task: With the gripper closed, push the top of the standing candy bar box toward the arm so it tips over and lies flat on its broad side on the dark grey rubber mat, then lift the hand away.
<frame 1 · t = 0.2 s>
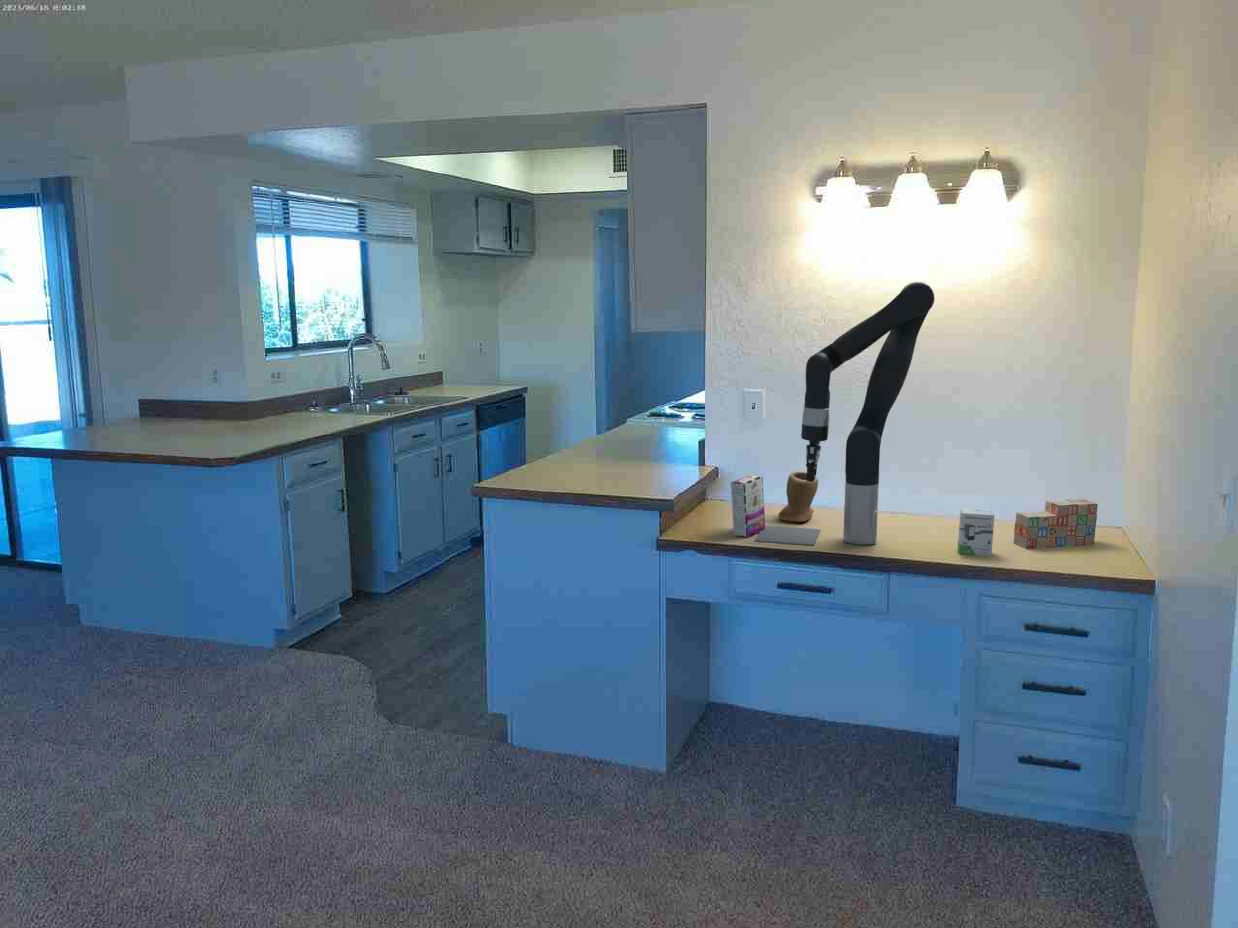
hand: (811, 478, 280), 18 cm above the table, tool pointing down, fingers open, 8 cm apart
stack of blocks: (1053, 545, 276), on the table
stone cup: (798, 519, 306), on the table
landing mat: (788, 535, 286), on the table
candy bar box: (749, 533, 289), on the table, touching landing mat
ink box: (974, 553, 267), on the table
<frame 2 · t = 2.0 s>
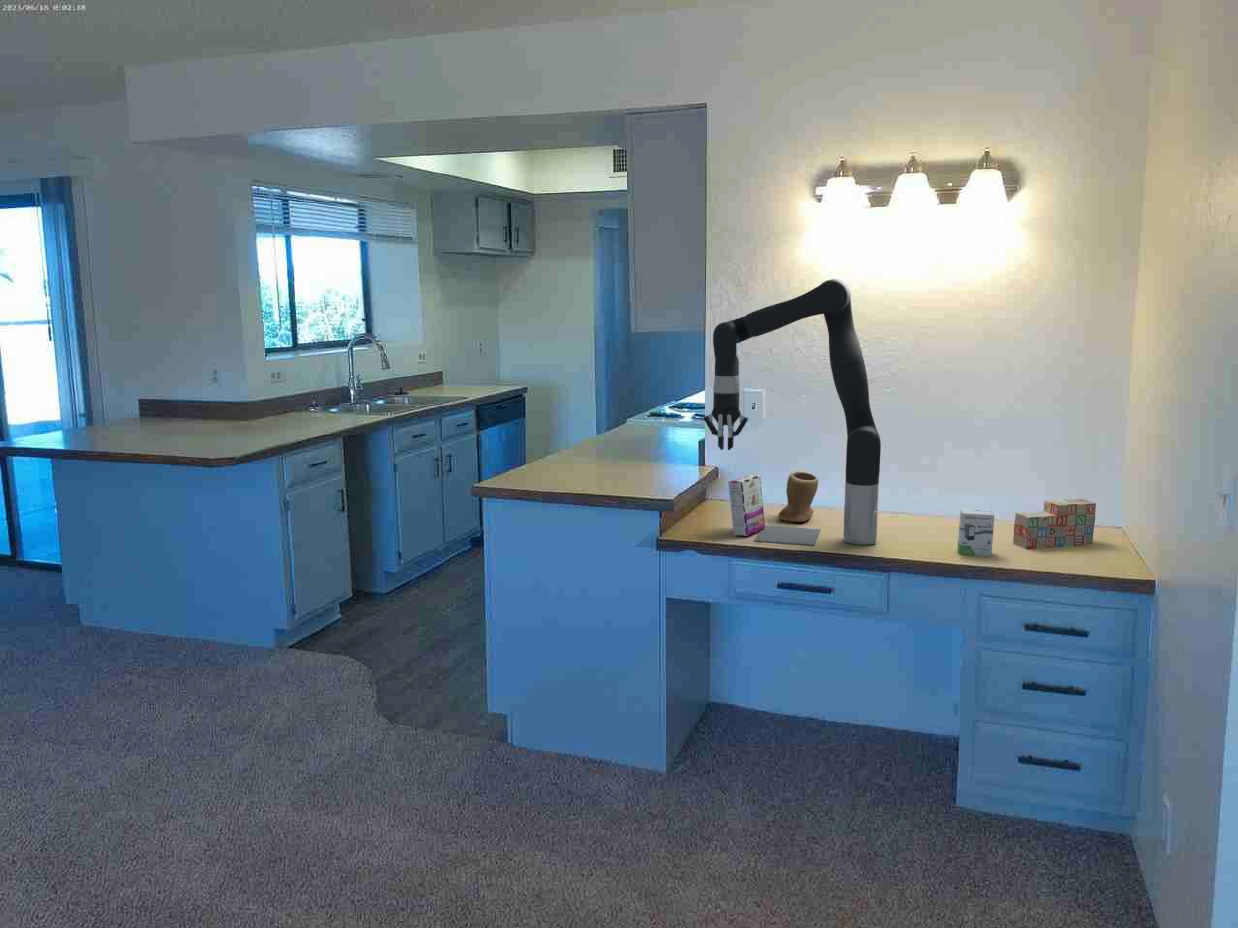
hand: (725, 449, 287), 25 cm above the table, tool pointing down, fingers closed
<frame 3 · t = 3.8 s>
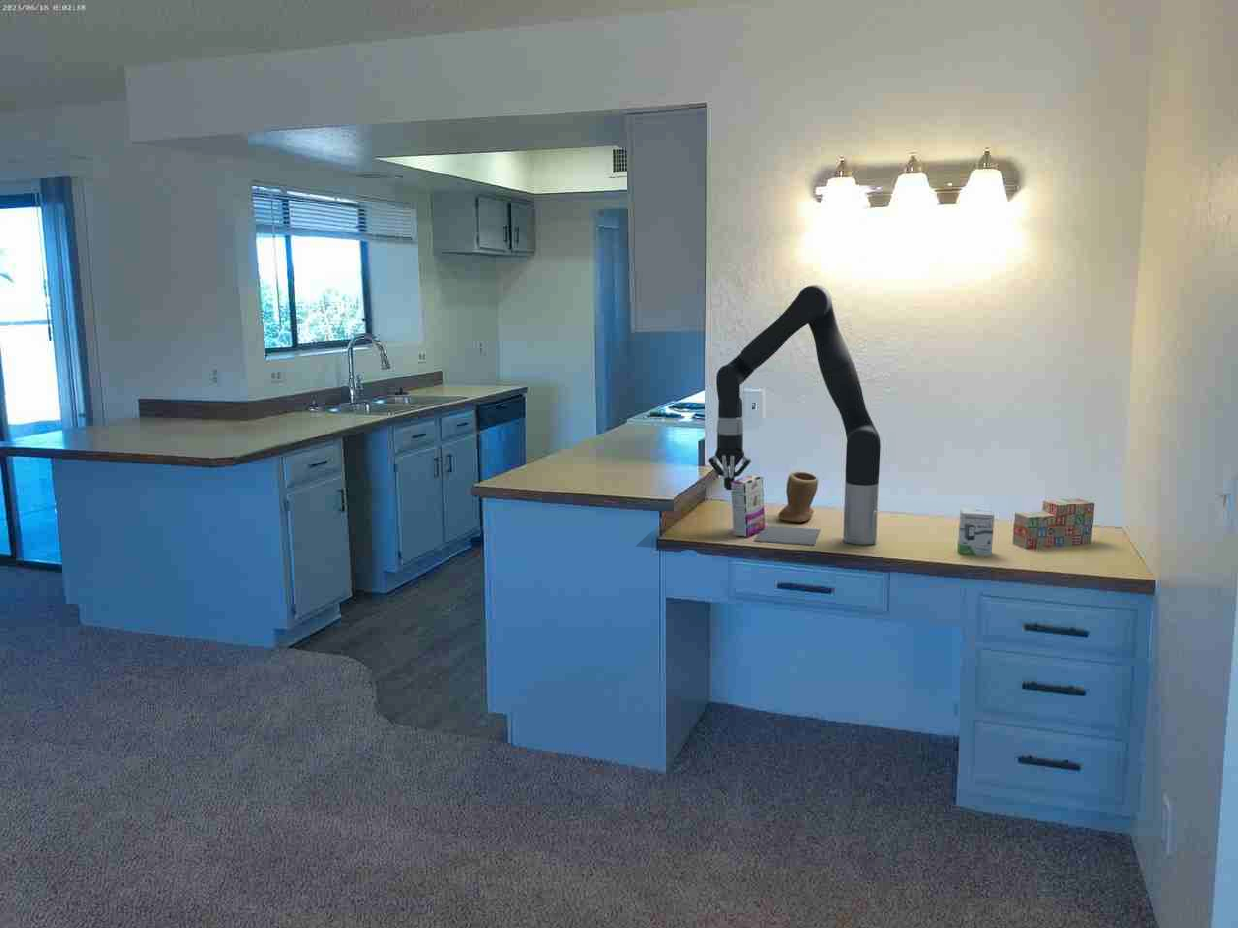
hand: (729, 489, 288), 13 cm above the table, tool pointing down, fingers closed
candy bar box: (749, 533, 289), on the table, touching gripper, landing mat
everything else where it was.
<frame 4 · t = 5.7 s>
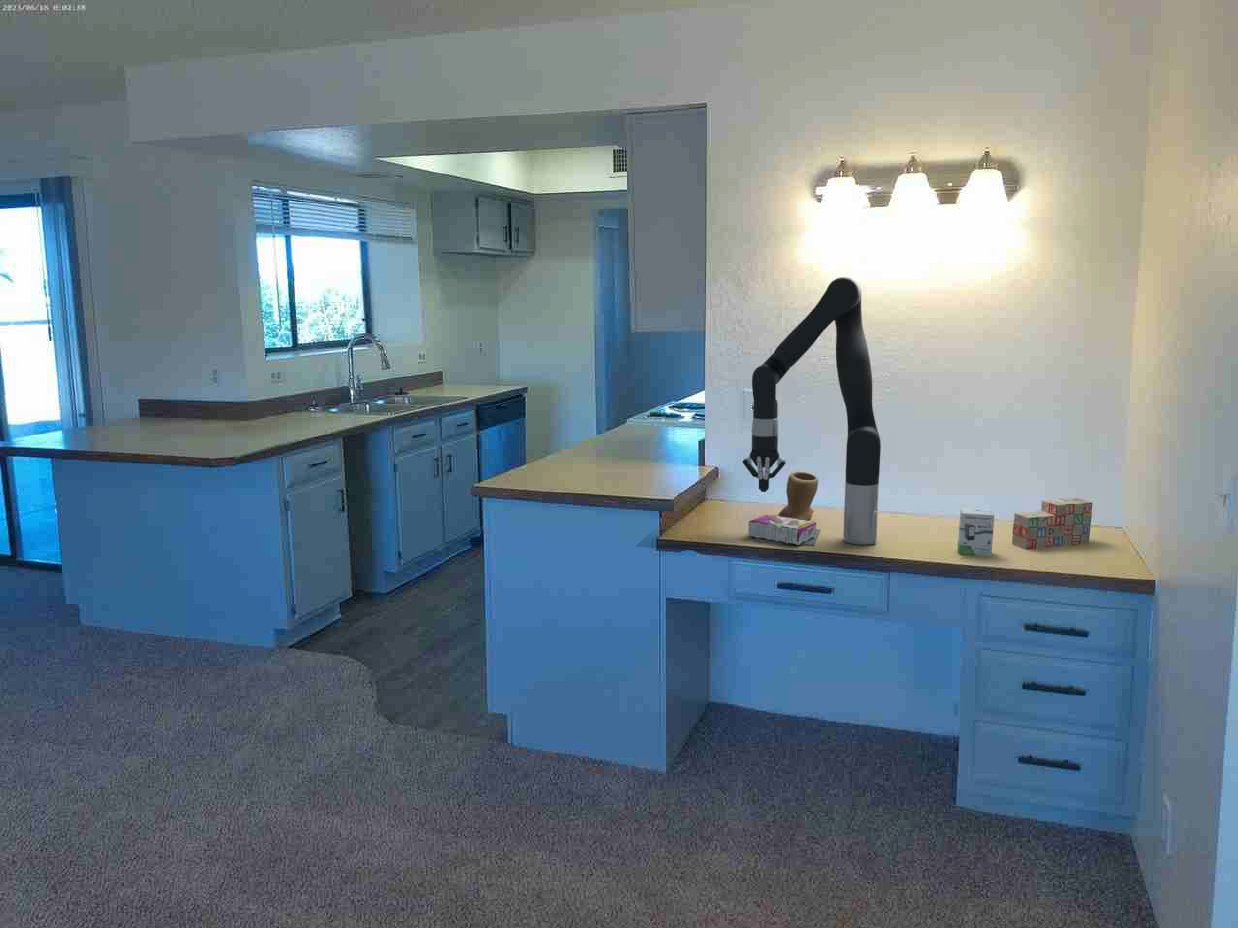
hand: (763, 491, 285), 13 cm above the table, tool pointing down, fingers closed
candy bar box: (756, 524, 287), point 3 cm above the table, touching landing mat
everything else where it was.
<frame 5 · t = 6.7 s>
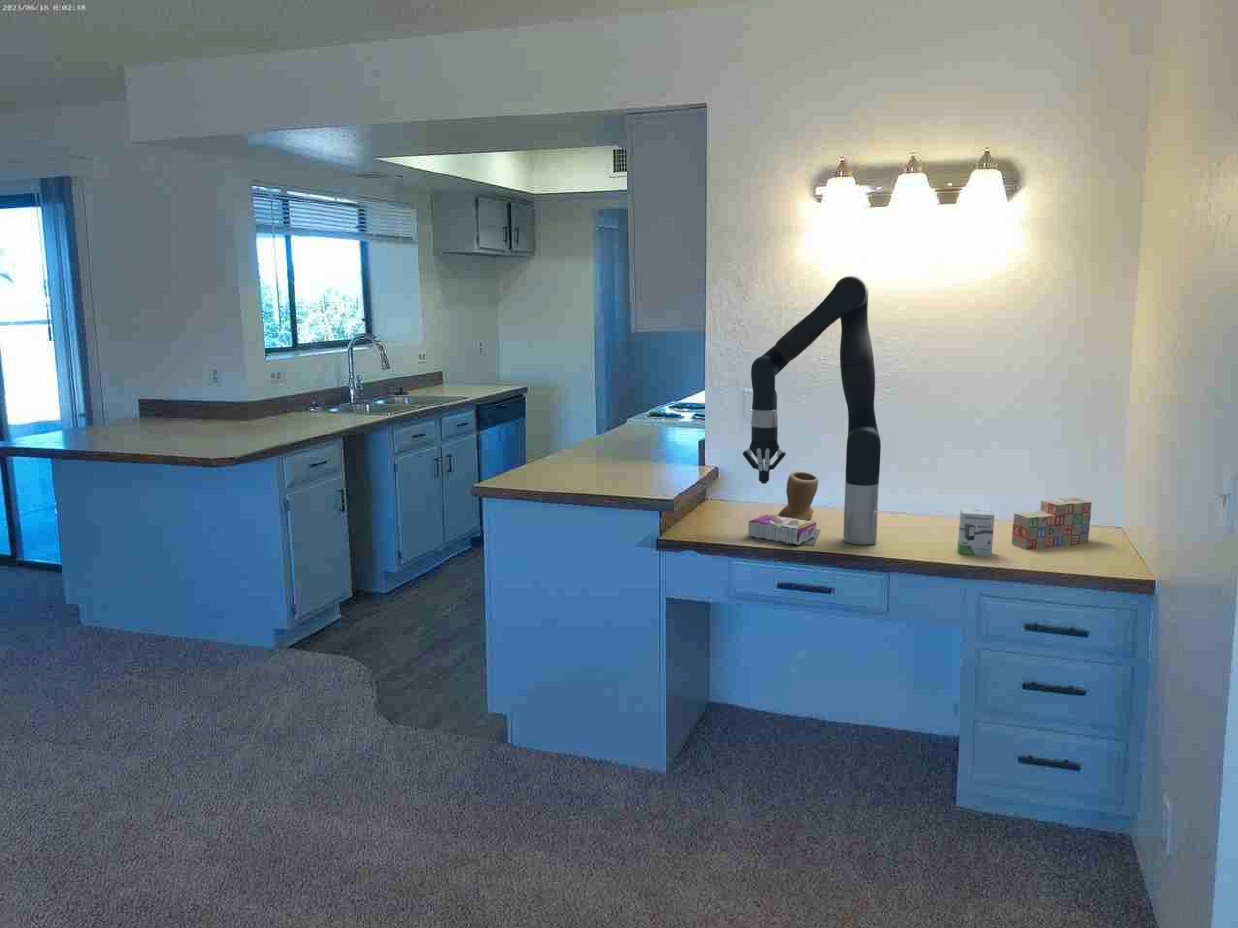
hand: (763, 483, 285), 15 cm above the table, tool pointing down, fingers closed
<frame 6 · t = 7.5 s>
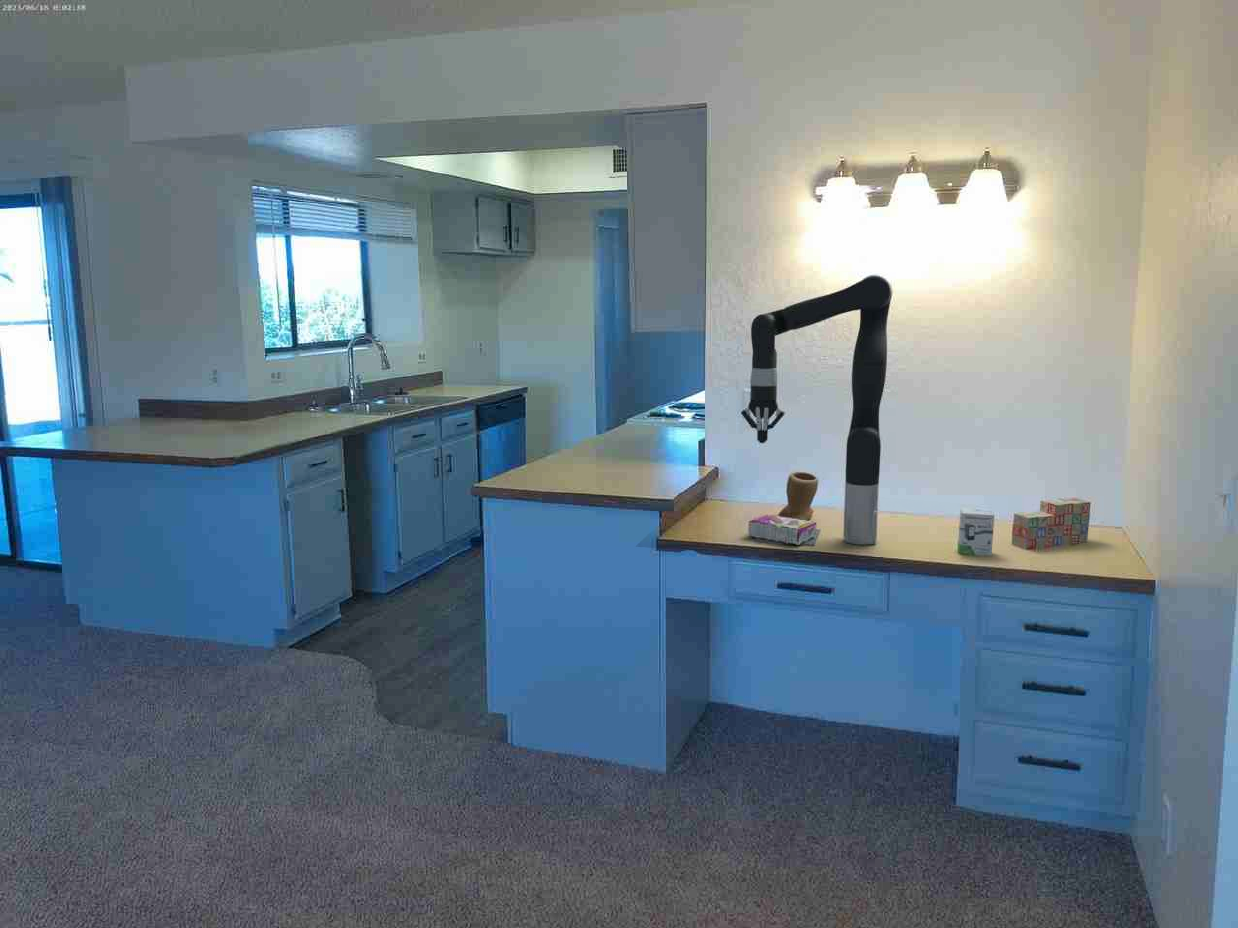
hand: (762, 442, 284), 27 cm above the table, tool pointing down, fingers closed
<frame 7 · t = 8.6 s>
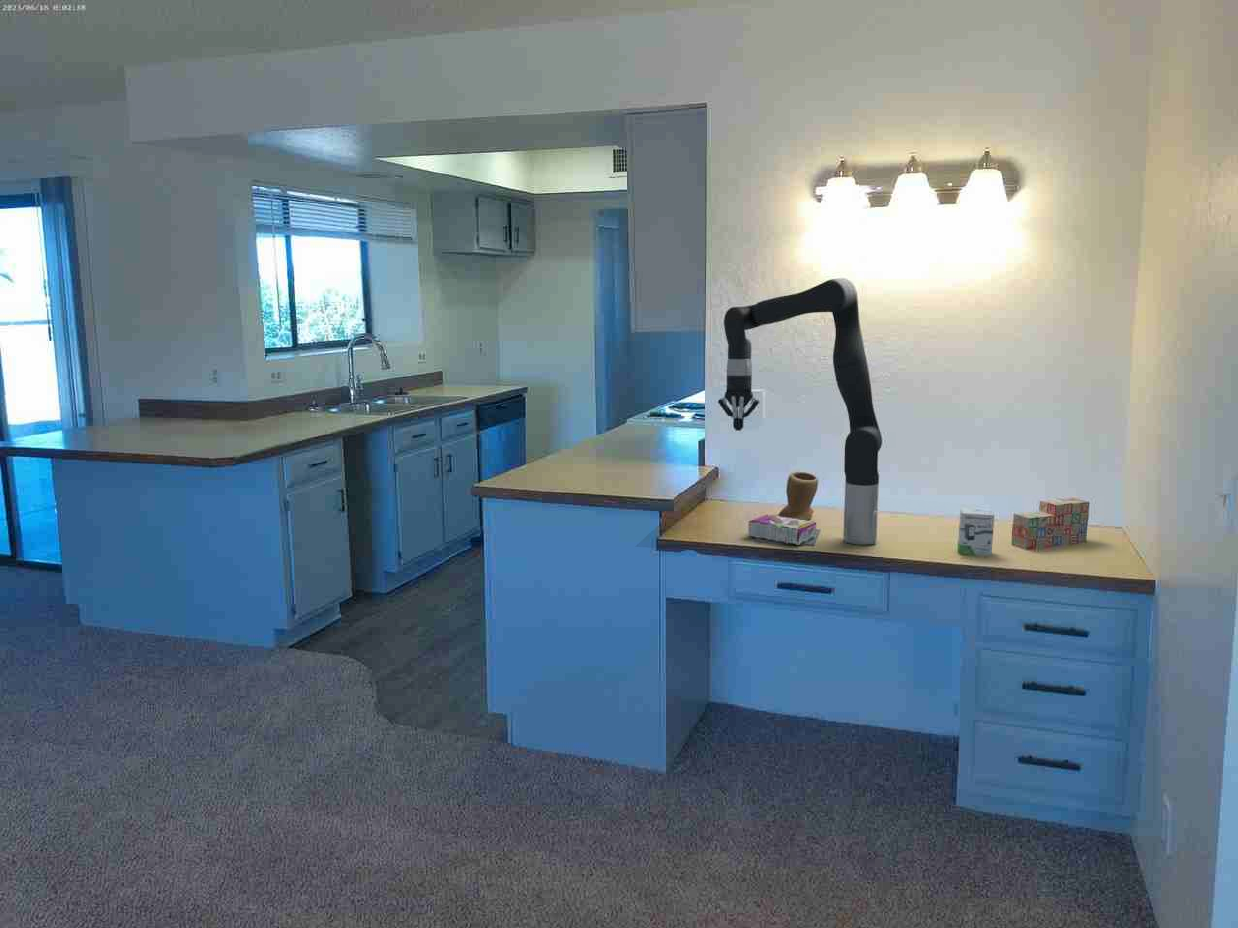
hand: (738, 430, 297), 29 cm above the table, tool pointing down, fingers closed
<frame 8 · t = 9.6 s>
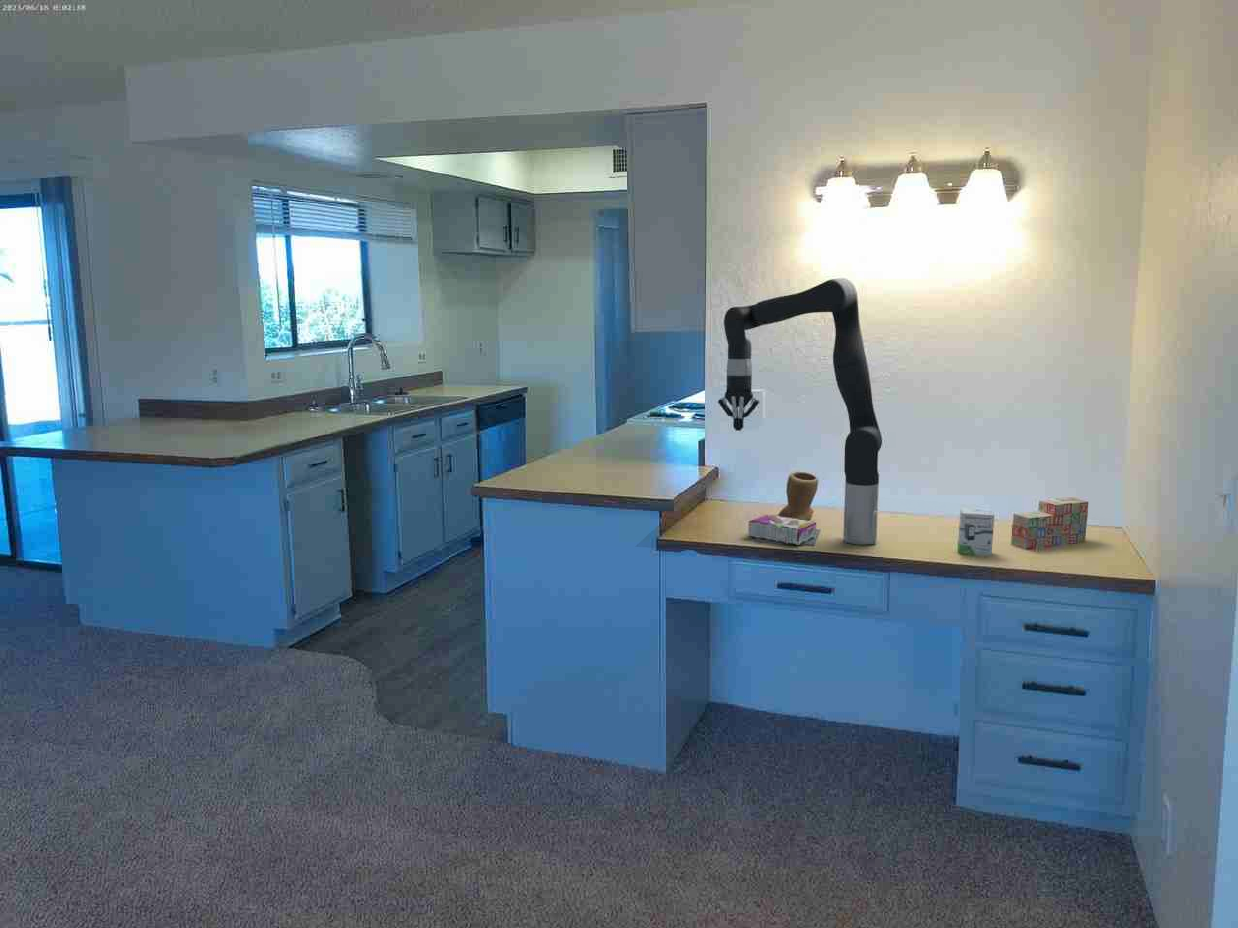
hand: (738, 430, 297), 29 cm above the table, tool pointing down, fingers closed
at the end: candy bar box tilted 91°; candy bar box inside the target area (1.7 cm from its centre), point 2.9 cm above the table; candy bar box touching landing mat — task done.
